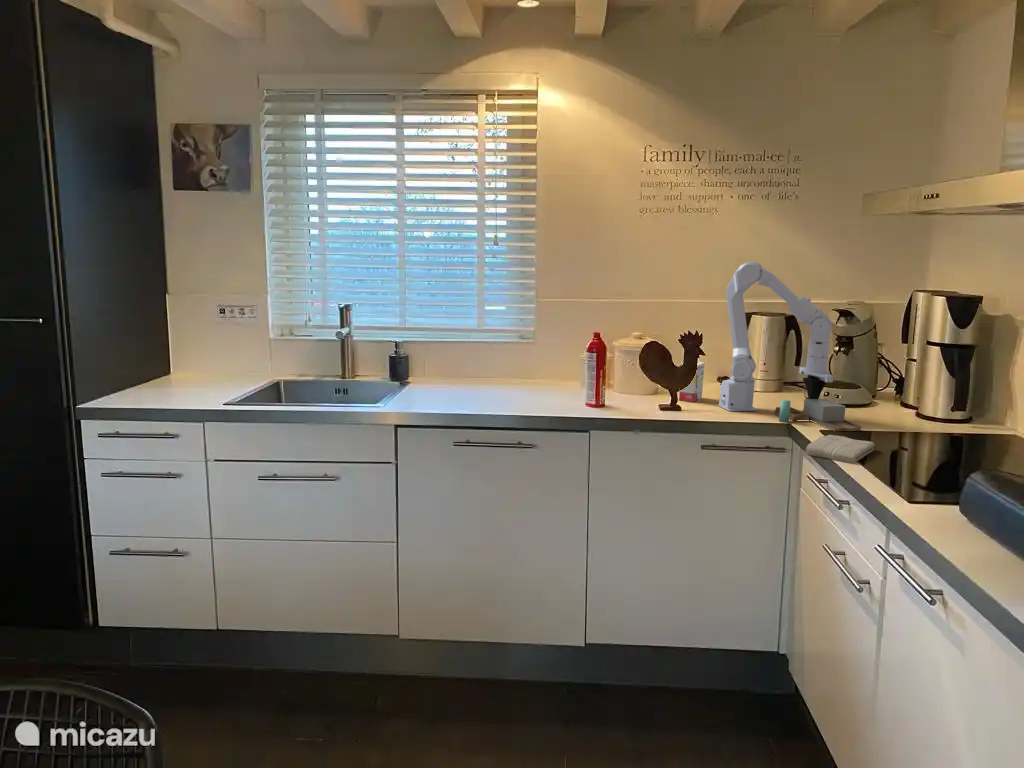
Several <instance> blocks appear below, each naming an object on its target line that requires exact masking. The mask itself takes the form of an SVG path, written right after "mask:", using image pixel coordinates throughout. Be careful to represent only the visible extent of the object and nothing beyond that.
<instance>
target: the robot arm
mask: <svg viewBox="0 0 1024 768" xmlns="http://www.w3.org/2000/svg"><path fill="white" fill-rule="evenodd" d="M757 282H758V283H757ZM756 283H757V285H759V286H762V287H763V286H764V287H768V289H771V290H772V291H773V292H774V293H775V294H776V295H778V296H779V297H780V298H781V299H782V300H784V301H785V303H787V304H788V307H789V308H788V310H789V312H790V313H791V314H792V315H793V316H794V317H795V318H797V319H798V320H799V321H800V322H801V323H802V324H803V325H805V326H809V331H810V335H809V336H810V337H809V340H808V345H807V346H808V347H807V356H806V363H805V364H806V365H805V366H800V367H799V373H798V374H799V375H800V374H801V375H805V376H807V377H803V378H802V381H803V383H804V385H805V389H806V392H807V399H820V396H821V393H822V392H823V389H824V388H825V386H826V385H827V384H828V383H833V381H834V375H832V374H831V372H830V370H829V371H828V361H829V354H830V345H831V344H830V343H831V342H830V338H831V335H830V332H831V331H832V329H833V328H832V320H831V318H830V317H829V316H828V314H825V313H824V311H823V310H822V309H819V308H818V307H817V306H816V305H814V304H813V303H812V299H811V298H810V297H807V298H806V296H805V295H801V296H800V295H799V296H797V295H796V294H795V293H794V292H793V291H792V290H791V289H790V288H789V287H787V285H786V284H785V283H783V281H781V280H780V278H778V277H777V276H776V275H775V274H774V273H773V272H771V271H770V270H769V269H767V268H765V267H763V266H762V264H760V263H759V262H757V261H754V260H753V261H748V262H744V263H742V264H741V265H739V267H738V268H737V269H736V270H735V271H734V273H733V276H732V278H731V280H730V282H729V284H728V285H727V288H726V290H725V294H726V304H727V311H728V318H729V319H728V320H729V329H730V335H731V344H732V364H731V368H730V373H731V375H730V376H729V379H724V380H722V382H721V383H720V389H719V391H720V392H719V401H718V402H719V403H718V404H717V406H718V407H720V408H723V409H724V410H726V411H728V412H742V411H743V412H744V411H745V412H752V411H753V412H754V411H756V412H757V411H758V410H759V409H758V408H756V407H754V405H753V404H754V392H755V382H756V378H755V377H754V376H753V373H755V370H756V367H757V366H756V361H755V359H753V357H752V351H751V348H750V343H749V335H748V334H749V333H748V326H747V319H746V318H747V317H746V310H745V309H746V308H745V302H744V301H745V300H744V294H745V293H746V292H747V291H748V290H749V288H750V287H751V286H752V285H754V284H756Z"/></svg>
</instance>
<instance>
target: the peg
mask: <svg viewBox="0 0 1024 768" xmlns="http://www.w3.org/2000/svg"><path fill="white" fill-rule="evenodd" d="M791 402H792V401H791V400H789V399H788V400H787V399H781V400H780V406H779V407H780V415H778V417H779V418H778V421H779V423H785V422H787V423H789V422H788V421H790V420H789V412H790V407H791Z"/></svg>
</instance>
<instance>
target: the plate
mask: <svg viewBox="0 0 1024 768" xmlns="http://www.w3.org/2000/svg"><path fill="white" fill-rule="evenodd" d="M799 411H801V412H803V409H802V410H799ZM809 419H810V420H812V421H814V422H816V423H818V424H820V425H823V426H825V427H827V428H829V429H828V430H830V429H831V430H830V431H832V430H833V431H832V432H860V431H861V427H862V426H861V425H858V424H856V423H855V422H851V421H849V420H846V419H844V421H839V422H823V421H821V420H818V419H816V418H814V417H811V416H809ZM816 423H815V424H816ZM818 424H817V425H818ZM820 425H819V426H820ZM823 426H822V427H823ZM825 427H824V428H825ZM827 428H826V429H827Z"/></svg>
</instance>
